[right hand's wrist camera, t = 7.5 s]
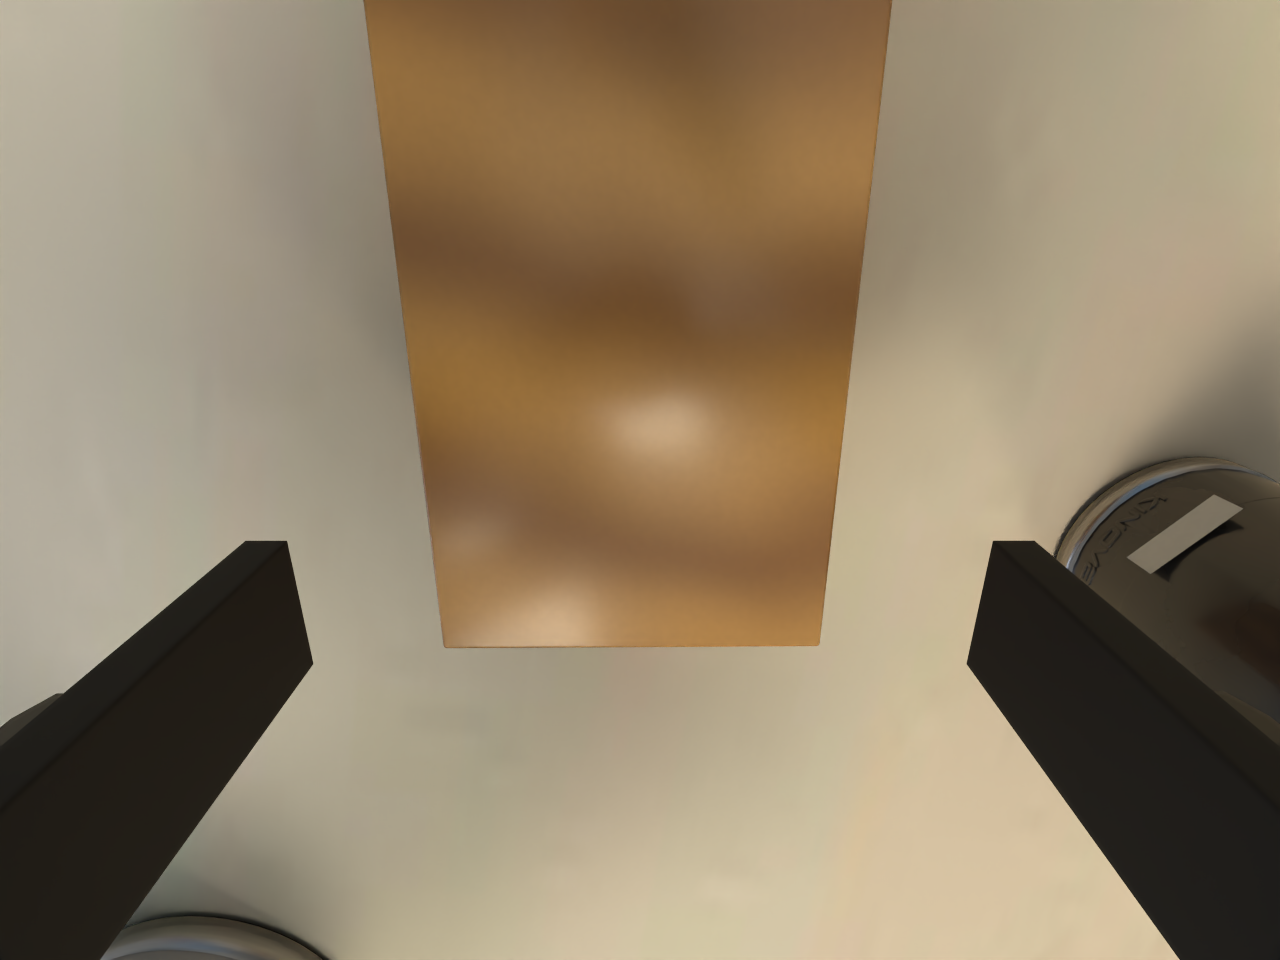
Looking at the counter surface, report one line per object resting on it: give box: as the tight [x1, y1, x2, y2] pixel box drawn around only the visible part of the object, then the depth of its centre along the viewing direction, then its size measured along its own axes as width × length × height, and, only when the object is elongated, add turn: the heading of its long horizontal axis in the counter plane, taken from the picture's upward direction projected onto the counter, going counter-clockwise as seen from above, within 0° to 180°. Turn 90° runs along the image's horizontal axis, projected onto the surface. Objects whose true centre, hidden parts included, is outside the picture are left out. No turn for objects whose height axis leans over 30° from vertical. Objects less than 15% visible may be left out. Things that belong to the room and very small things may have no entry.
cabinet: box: [364, 0, 892, 648], centre depth 20 cm, size 20×11×9 cm, turn 0°
